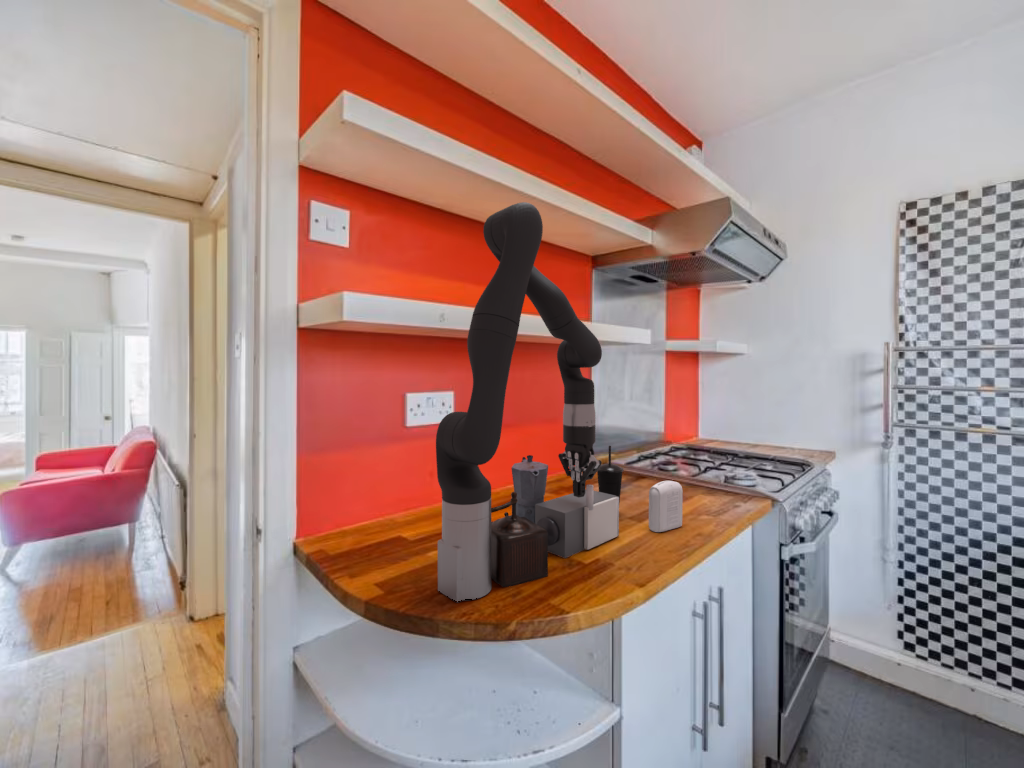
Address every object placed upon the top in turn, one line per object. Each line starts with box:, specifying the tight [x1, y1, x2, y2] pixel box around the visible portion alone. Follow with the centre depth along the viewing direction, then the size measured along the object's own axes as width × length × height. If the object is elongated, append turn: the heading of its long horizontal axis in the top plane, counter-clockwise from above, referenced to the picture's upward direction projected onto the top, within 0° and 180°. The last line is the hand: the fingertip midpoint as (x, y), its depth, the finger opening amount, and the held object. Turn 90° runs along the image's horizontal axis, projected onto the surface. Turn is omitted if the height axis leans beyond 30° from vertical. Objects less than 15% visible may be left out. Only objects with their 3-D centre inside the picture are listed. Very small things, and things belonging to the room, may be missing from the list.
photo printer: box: [648, 480, 684, 533], centre depth 116 cm, size 10×4×12 cm, turn 123°
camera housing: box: [535, 488, 616, 559], centre depth 106 cm, size 21×9×10 cm, turn 134°
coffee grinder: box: [491, 491, 549, 588], centre depth 89 cm, size 16×11×18 cm
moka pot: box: [511, 454, 549, 523], centre depth 113 cm, size 10×15×20 cm, turn 15°
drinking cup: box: [596, 445, 624, 504], centre depth 126 cm, size 8×8×20 cm
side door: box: [584, 484, 620, 551], centre depth 105 cm, size 13×2×14 cm, turn 134°
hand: (579, 496), depth 104 cm, fingers closed
